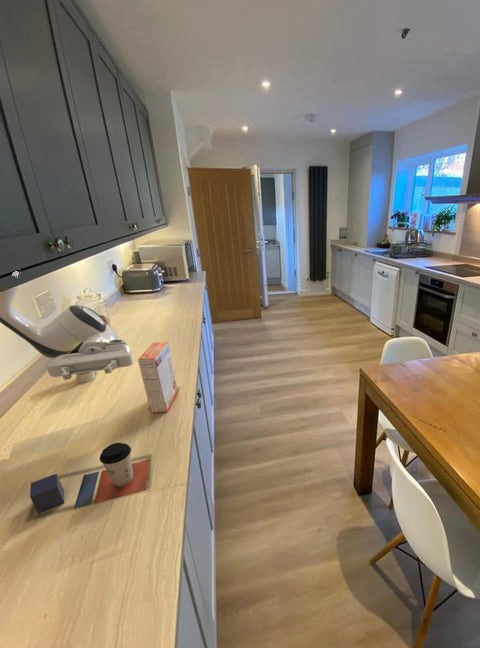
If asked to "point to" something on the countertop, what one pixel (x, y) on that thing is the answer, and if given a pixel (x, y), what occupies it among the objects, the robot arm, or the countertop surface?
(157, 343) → the cracker box
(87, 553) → the countertop surface
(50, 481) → the navy block
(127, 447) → the coffee cup
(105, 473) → the sorting board
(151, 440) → the countertop surface
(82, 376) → the coffee cup
